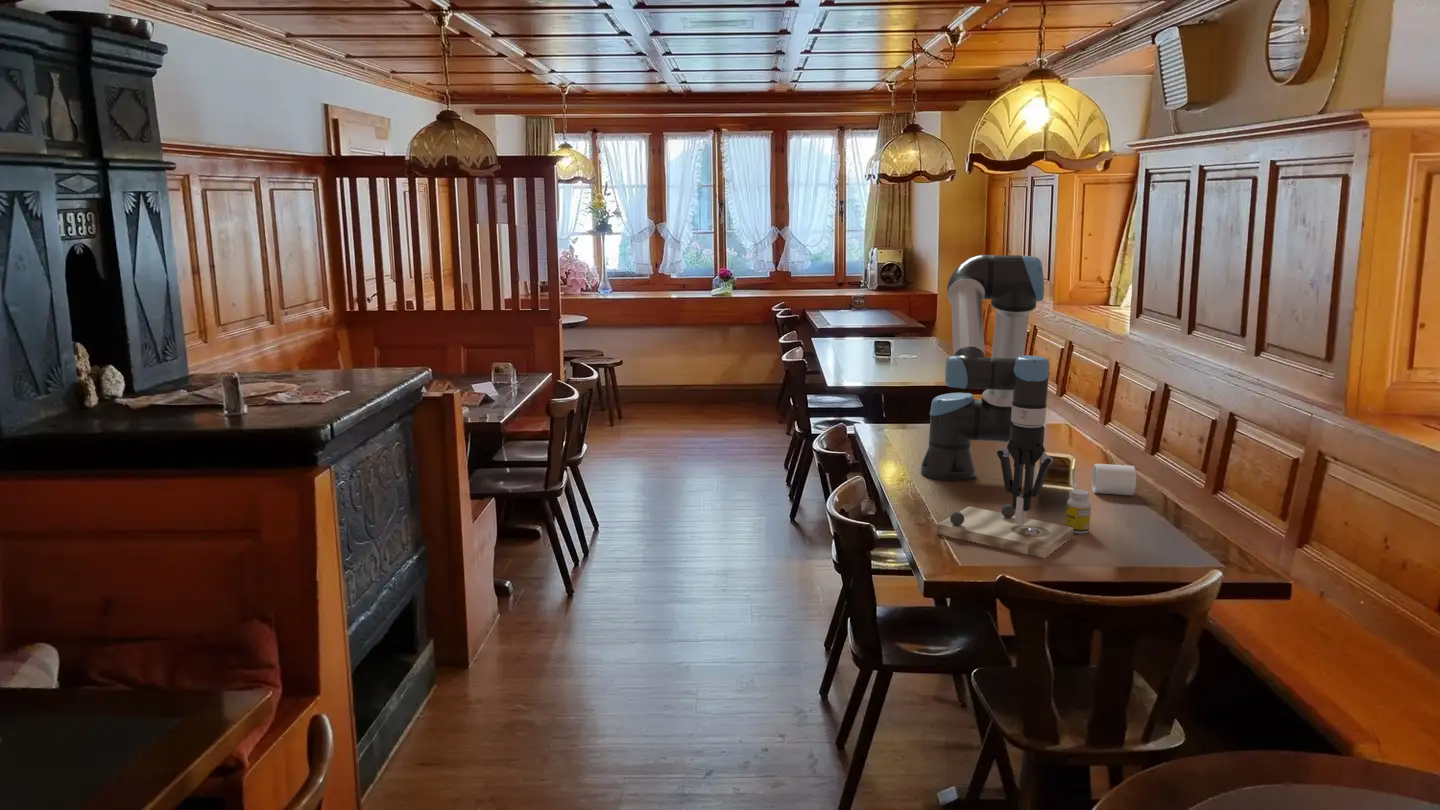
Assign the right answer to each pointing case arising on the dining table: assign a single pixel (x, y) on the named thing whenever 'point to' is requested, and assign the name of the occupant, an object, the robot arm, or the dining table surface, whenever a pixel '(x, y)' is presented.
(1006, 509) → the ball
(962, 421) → the robot arm
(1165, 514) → the dining table surface
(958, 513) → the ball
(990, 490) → the dining table surface
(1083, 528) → the supplement bottle
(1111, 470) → the mug
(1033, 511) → the dining table surface
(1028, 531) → the steel ball
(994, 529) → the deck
